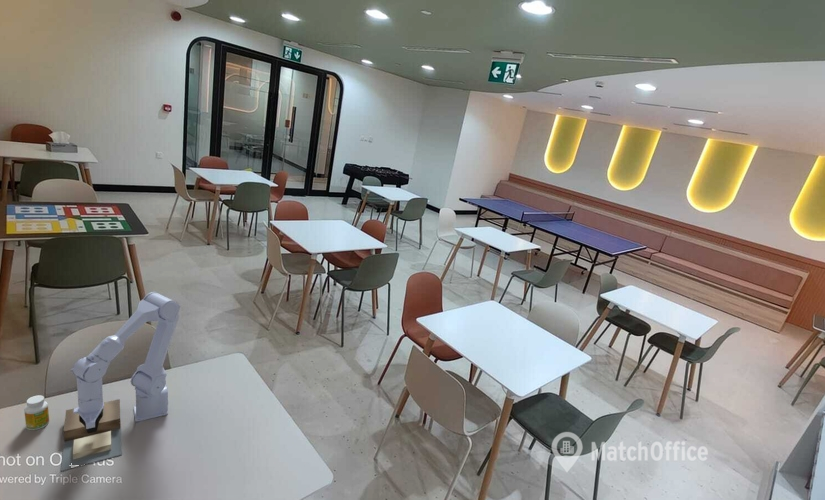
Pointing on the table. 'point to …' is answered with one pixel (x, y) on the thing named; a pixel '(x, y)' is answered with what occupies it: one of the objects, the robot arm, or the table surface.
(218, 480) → the table surface
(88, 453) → the birch tile
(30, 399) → the supplement bottle
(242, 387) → the table surface
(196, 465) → the table surface
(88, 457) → the slate mat
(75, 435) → the walnut deck
